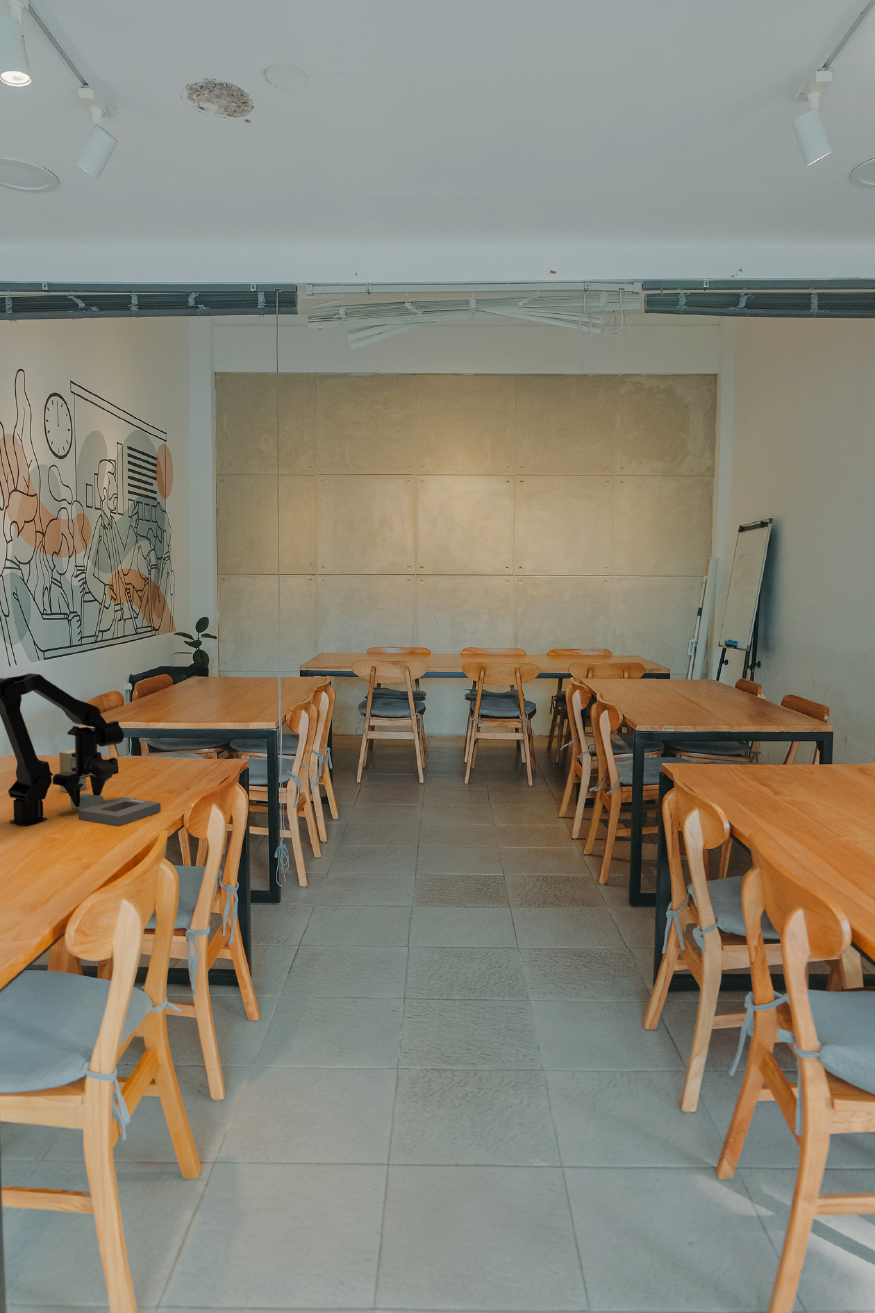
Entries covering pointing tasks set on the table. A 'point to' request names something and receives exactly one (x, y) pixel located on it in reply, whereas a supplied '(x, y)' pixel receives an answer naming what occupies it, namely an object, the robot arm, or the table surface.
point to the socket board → (119, 811)
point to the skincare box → (69, 766)
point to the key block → (87, 801)
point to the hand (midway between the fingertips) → (87, 803)
